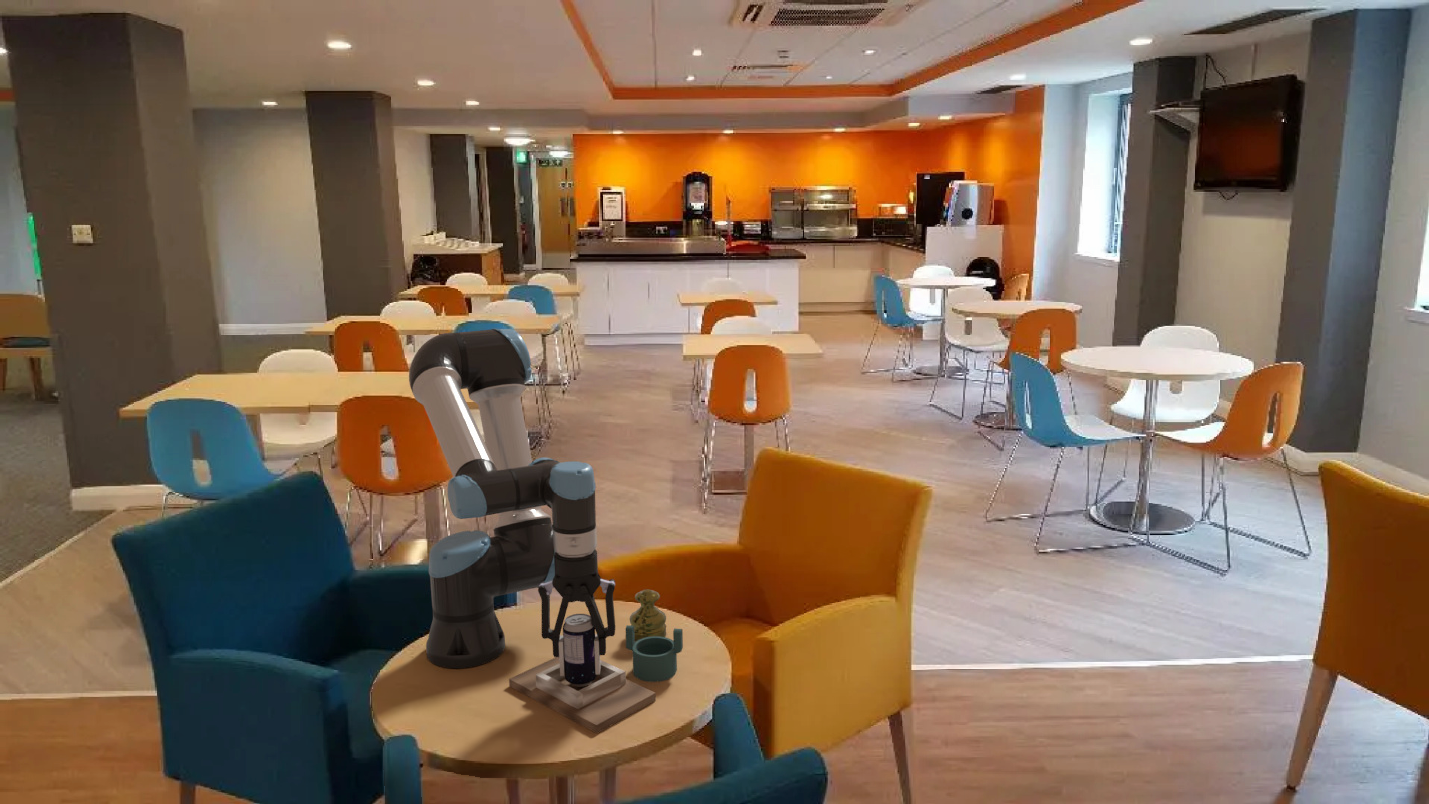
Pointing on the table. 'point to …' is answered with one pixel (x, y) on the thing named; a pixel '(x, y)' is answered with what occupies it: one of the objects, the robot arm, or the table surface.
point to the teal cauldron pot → (654, 655)
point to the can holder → (584, 694)
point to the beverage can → (579, 649)
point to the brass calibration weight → (648, 616)
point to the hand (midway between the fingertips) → (580, 671)
